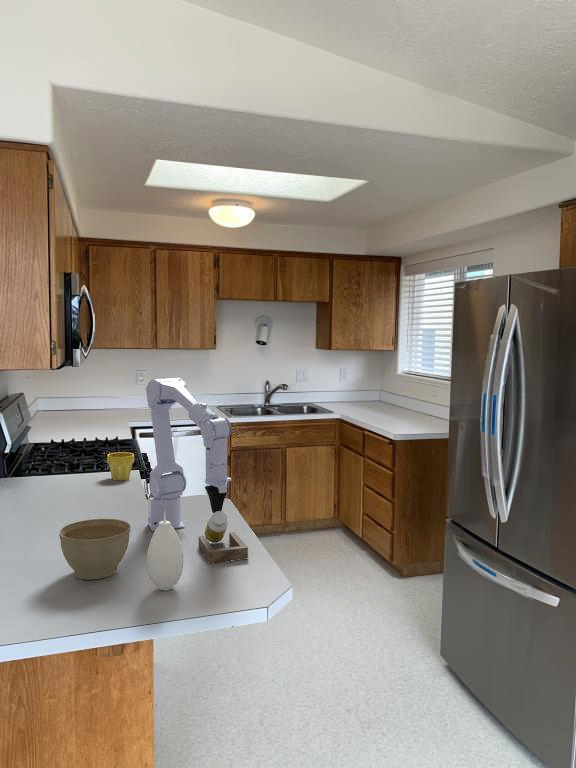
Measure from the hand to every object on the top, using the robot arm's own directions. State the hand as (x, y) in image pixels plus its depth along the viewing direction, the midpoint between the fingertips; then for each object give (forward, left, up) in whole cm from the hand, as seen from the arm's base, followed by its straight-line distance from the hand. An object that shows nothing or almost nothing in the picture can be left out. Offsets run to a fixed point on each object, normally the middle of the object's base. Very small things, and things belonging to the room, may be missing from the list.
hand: (216, 512), depth 157 cm
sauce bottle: (-18, -23, -9) cm, 30 cm away
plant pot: (-18, +85, -9) cm, 87 cm away
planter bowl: (-32, -8, -9) cm, 34 cm away
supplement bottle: (0, +3, -7) cm, 8 cm away
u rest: (0, -6, -9) cm, 11 cm away
